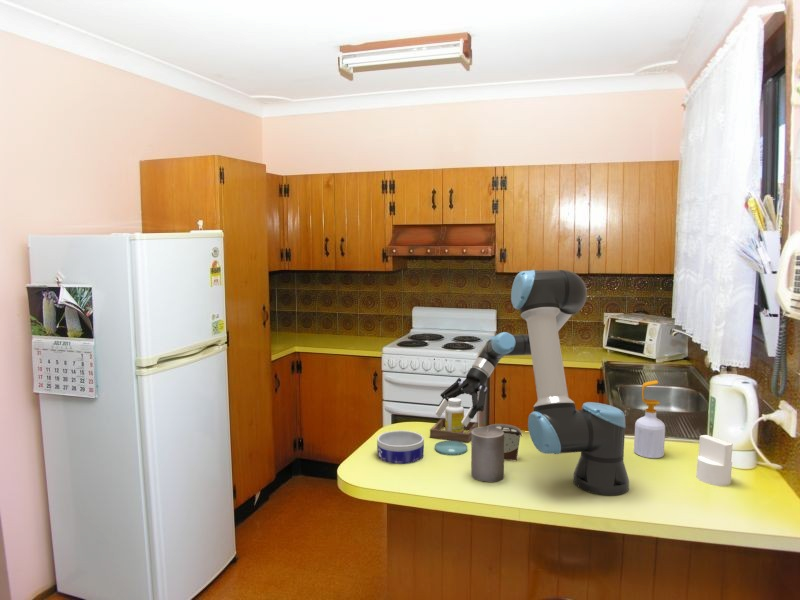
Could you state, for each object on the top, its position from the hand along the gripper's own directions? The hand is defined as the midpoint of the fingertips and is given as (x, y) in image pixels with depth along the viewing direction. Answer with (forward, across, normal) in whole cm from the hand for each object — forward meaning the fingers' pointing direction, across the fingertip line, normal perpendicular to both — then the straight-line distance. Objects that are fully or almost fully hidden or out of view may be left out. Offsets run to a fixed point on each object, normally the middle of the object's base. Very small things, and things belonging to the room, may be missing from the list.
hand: (450, 419), depth 207 cm
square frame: (+2, 0, -6) cm, 6 cm away
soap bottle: (-24, -54, -32) cm, 67 cm away
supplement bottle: (+3, 0, -6) cm, 6 cm away
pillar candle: (+16, -32, +7) cm, 37 cm away
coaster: (+11, -10, +2) cm, 15 cm away
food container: (+5, -25, -4) cm, 26 cm away
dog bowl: (+23, -4, +14) cm, 27 cm away
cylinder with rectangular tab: (-20, -76, -29) cm, 84 cm away
